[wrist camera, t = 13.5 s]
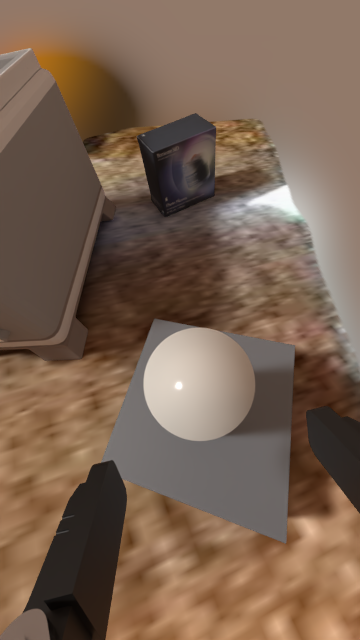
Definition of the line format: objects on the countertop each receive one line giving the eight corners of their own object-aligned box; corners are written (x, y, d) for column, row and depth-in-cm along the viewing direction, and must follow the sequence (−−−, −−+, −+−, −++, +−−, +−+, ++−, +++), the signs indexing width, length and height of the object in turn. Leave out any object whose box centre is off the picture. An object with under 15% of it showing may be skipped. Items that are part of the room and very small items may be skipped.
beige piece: (169, 427, 18) (127, 421, 9) (184, 369, 20) (161, 320, 11) (230, 445, 17) (247, 458, 8) (239, 381, 19) (260, 337, 10)
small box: (165, 219, 39) (151, 152, 29) (151, 201, 42) (134, 135, 33) (216, 196, 40) (217, 124, 31) (198, 180, 43) (195, 111, 34)
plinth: (121, 462, 22) (98, 469, 17) (163, 337, 28) (154, 318, 23) (268, 518, 18) (285, 543, 14) (279, 361, 24) (294, 345, 20)
